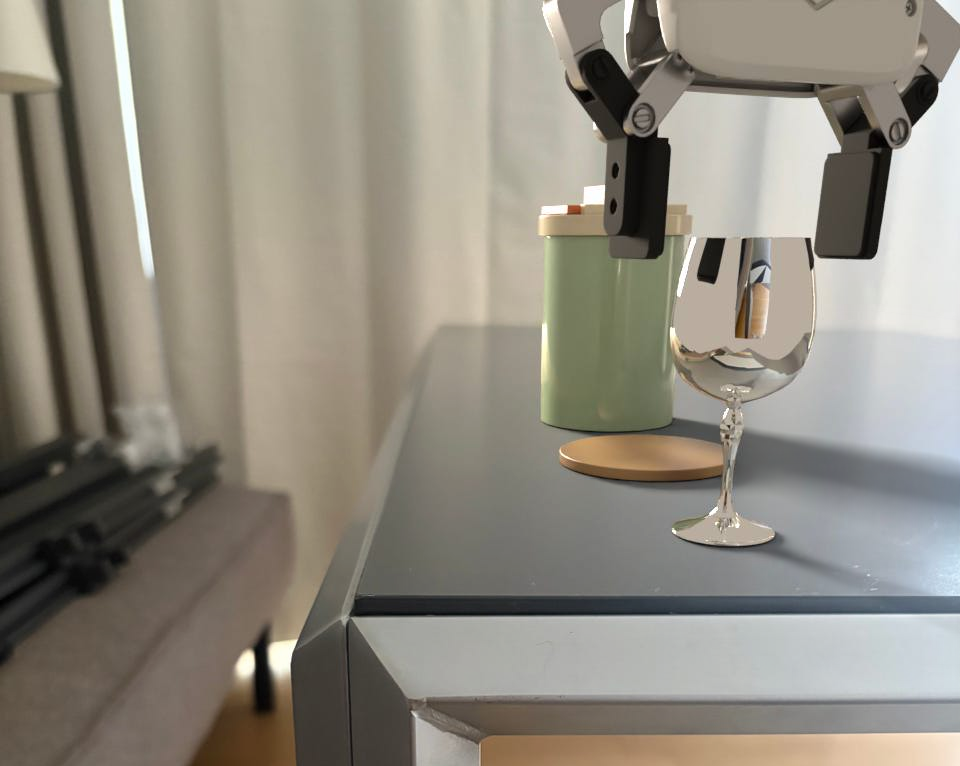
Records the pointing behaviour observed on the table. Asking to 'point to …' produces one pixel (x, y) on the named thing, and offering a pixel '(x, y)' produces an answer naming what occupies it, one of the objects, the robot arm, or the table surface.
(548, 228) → the green storage canister
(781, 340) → the wineglass
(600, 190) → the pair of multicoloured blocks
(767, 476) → the table surface
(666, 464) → the coaster
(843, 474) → the table surface
